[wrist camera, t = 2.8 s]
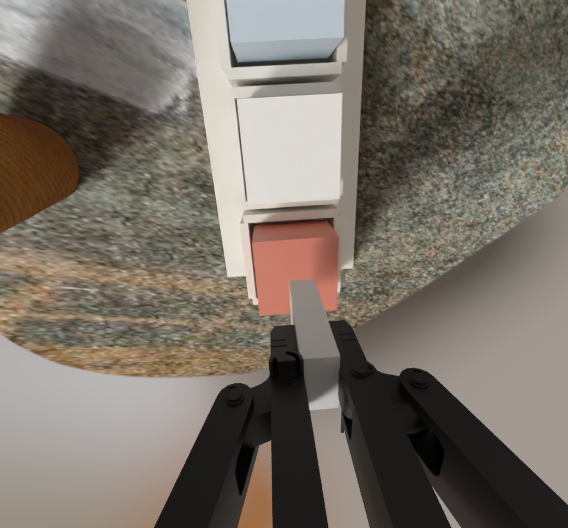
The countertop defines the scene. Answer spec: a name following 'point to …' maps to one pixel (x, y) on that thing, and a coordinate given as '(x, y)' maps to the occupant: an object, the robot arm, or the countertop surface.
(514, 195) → the countertop surface
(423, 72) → the countertop surface
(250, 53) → the pale blue key
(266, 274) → the brick-red key
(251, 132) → the white key
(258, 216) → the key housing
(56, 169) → the disposable coffee cup
